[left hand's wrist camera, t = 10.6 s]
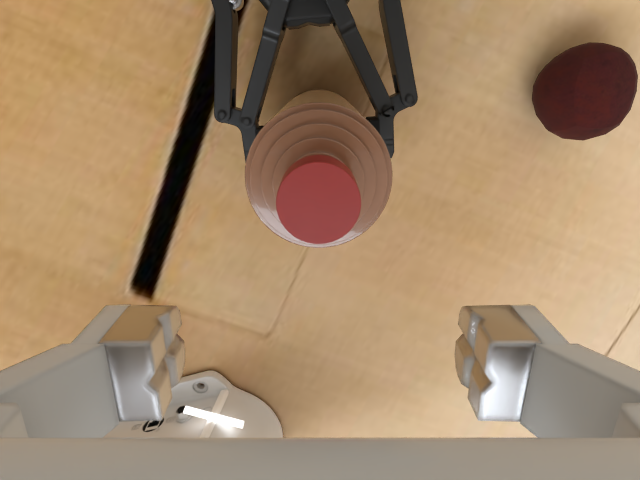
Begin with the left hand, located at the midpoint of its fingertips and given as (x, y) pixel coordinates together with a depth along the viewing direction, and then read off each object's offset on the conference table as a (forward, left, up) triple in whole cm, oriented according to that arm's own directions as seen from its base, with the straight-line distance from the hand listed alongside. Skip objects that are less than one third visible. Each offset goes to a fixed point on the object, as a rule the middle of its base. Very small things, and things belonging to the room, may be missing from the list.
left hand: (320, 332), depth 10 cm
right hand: (0, -5, -28) cm, 28 cm away
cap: (0, 0, -11) cm, 11 cm away
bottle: (0, 0, -34) cm, 34 cm away
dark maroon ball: (+22, +2, -34) cm, 41 cm away
